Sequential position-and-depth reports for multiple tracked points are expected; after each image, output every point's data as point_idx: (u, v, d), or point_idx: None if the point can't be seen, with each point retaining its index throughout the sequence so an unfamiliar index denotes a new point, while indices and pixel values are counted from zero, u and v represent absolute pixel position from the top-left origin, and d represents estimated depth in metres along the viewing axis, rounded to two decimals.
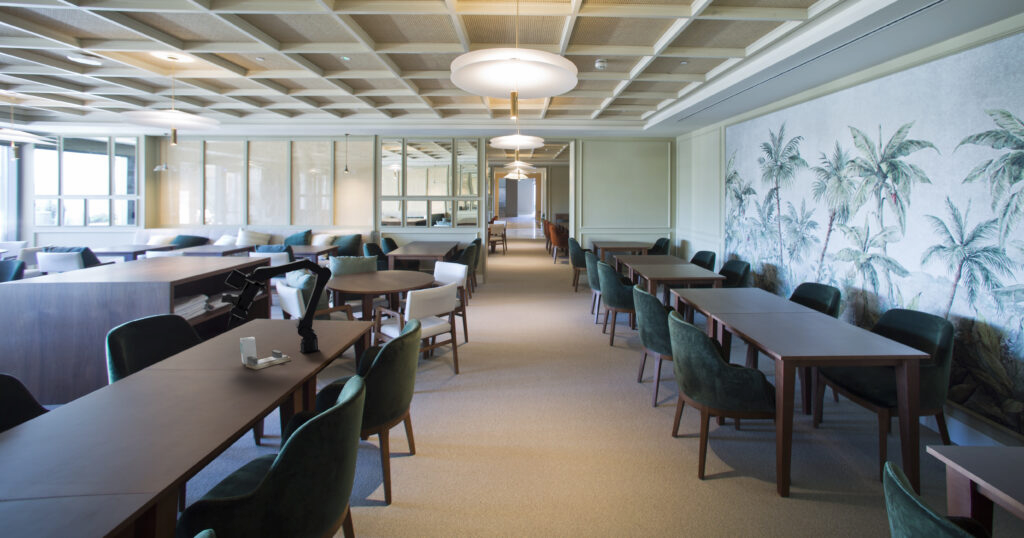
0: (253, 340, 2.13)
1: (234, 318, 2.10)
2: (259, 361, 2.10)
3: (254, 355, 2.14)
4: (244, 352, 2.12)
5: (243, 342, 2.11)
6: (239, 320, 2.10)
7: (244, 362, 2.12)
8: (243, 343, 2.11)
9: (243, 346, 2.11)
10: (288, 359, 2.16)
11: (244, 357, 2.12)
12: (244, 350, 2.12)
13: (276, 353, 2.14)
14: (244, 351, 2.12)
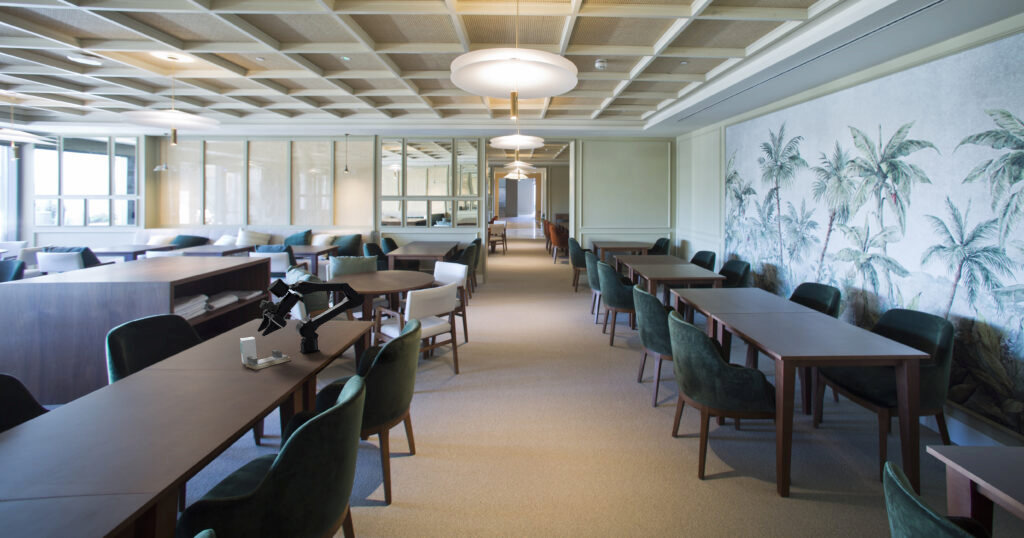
0: (253, 340, 2.13)
1: (272, 325, 2.14)
2: (259, 361, 2.10)
3: (254, 355, 2.14)
4: (244, 352, 2.12)
5: (243, 342, 2.11)
6: (276, 328, 2.14)
7: (244, 362, 2.12)
8: (243, 343, 2.11)
9: (243, 346, 2.11)
10: (288, 359, 2.16)
11: (244, 357, 2.12)
12: (244, 350, 2.12)
13: (276, 353, 2.14)
14: (244, 351, 2.12)
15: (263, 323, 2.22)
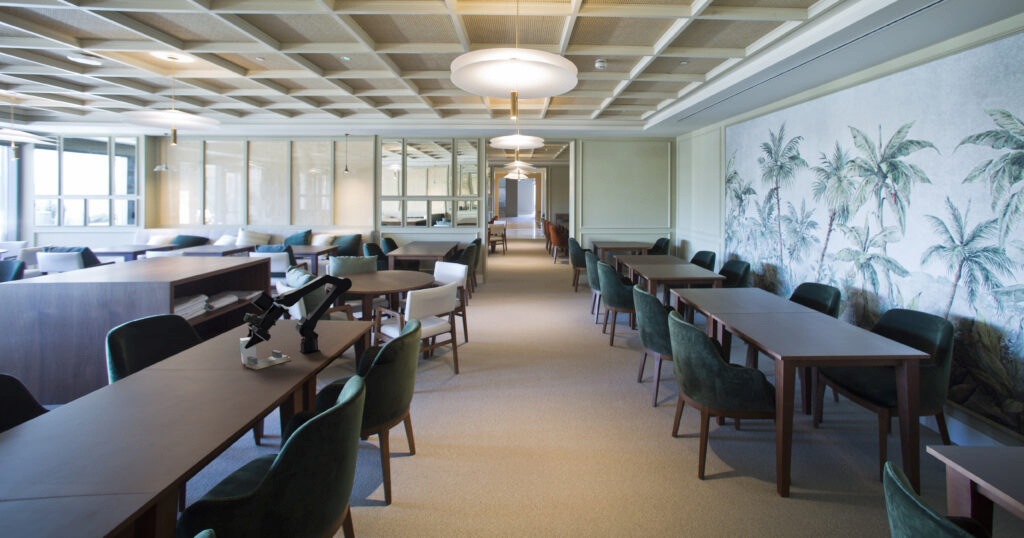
0: None
1: (255, 338, 2.13)
2: (259, 361, 2.10)
3: (254, 355, 2.14)
4: (244, 352, 2.12)
5: (243, 342, 2.11)
6: (259, 340, 2.13)
7: (244, 362, 2.12)
8: (243, 343, 2.11)
9: (243, 346, 2.11)
10: (288, 359, 2.16)
11: (244, 357, 2.12)
12: (244, 350, 2.12)
13: (276, 353, 2.14)
14: (244, 351, 2.12)
15: None
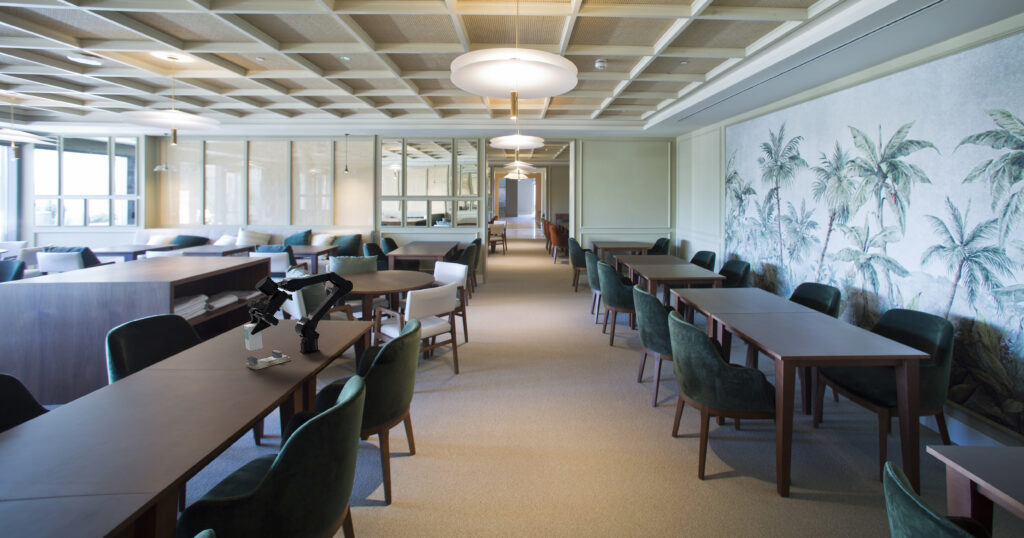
0: None
1: (261, 324, 2.10)
2: (259, 361, 2.10)
3: (260, 341, 2.12)
4: (250, 338, 2.09)
5: (249, 328, 2.09)
6: (265, 326, 2.11)
7: (250, 348, 2.10)
8: (249, 329, 2.09)
9: (249, 332, 2.09)
10: (288, 359, 2.16)
11: (250, 343, 2.09)
12: (250, 336, 2.09)
13: (276, 353, 2.14)
14: (250, 337, 2.09)
15: None
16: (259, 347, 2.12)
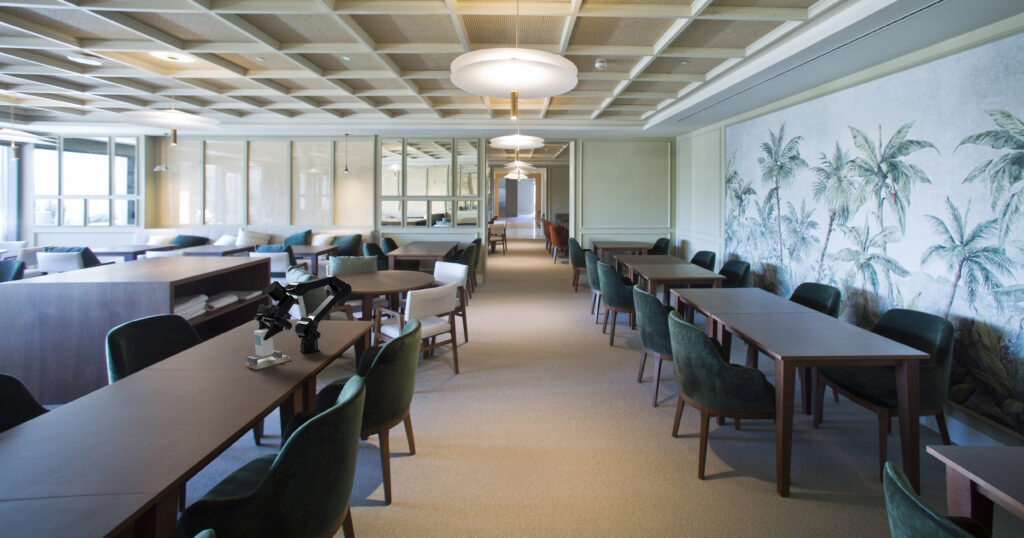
0: None
1: (273, 329, 2.10)
2: (259, 361, 2.10)
3: (271, 346, 2.11)
4: (263, 344, 2.08)
5: (262, 334, 2.07)
6: (277, 331, 2.11)
7: (263, 354, 2.08)
8: (262, 335, 2.07)
9: (262, 338, 2.07)
10: (288, 359, 2.16)
11: (263, 349, 2.08)
12: (263, 342, 2.08)
13: (276, 353, 2.14)
14: (263, 343, 2.08)
15: None
16: (271, 352, 2.11)
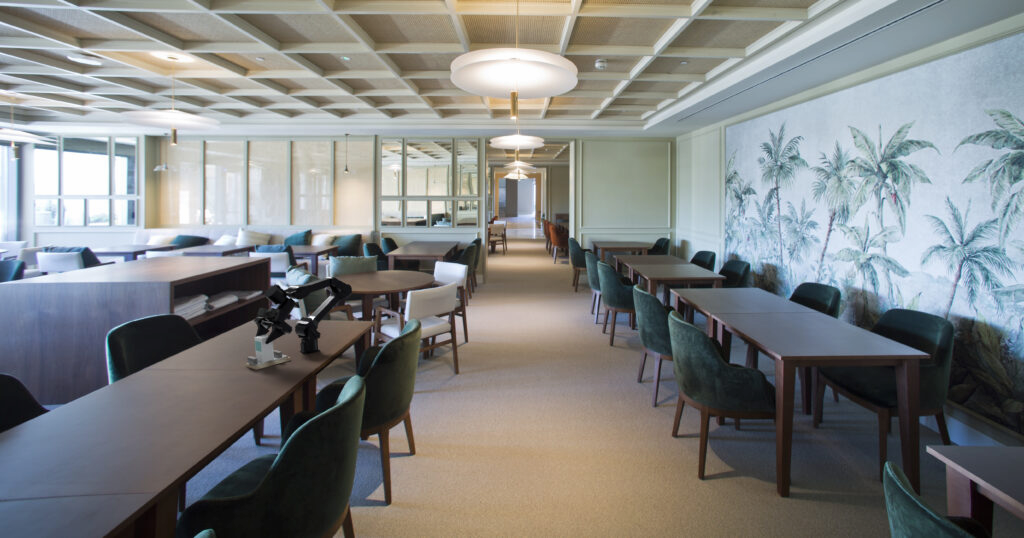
0: None
1: (275, 332, 2.10)
2: None
3: (272, 352, 2.12)
4: (263, 350, 2.08)
5: (262, 340, 2.08)
6: (279, 334, 2.11)
7: (263, 360, 2.09)
8: (262, 341, 2.08)
9: (262, 344, 2.08)
10: (288, 359, 2.16)
11: (263, 355, 2.08)
12: (263, 348, 2.08)
13: (276, 353, 2.14)
14: (263, 349, 2.08)
15: (259, 332, 2.13)
16: (271, 358, 2.11)
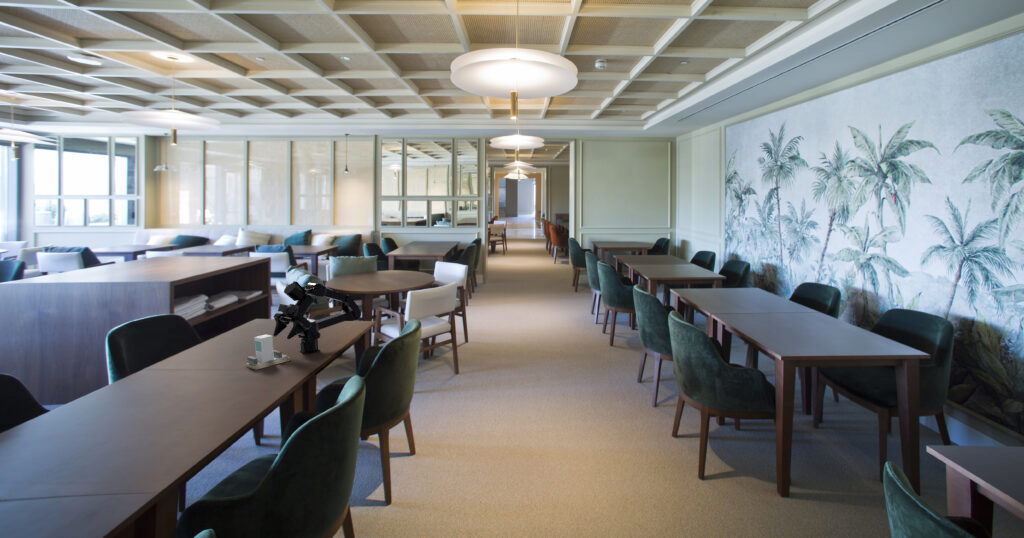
0: (271, 337, 2.11)
1: (296, 328, 2.17)
2: None
3: (272, 352, 2.12)
4: (263, 350, 2.08)
5: (262, 340, 2.08)
6: (300, 330, 2.18)
7: (263, 360, 2.09)
8: (262, 341, 2.08)
9: (262, 344, 2.08)
10: (288, 359, 2.16)
11: (263, 355, 2.08)
12: (263, 348, 2.08)
13: (276, 353, 2.14)
14: (263, 349, 2.08)
15: (278, 327, 2.21)
16: (271, 358, 2.11)
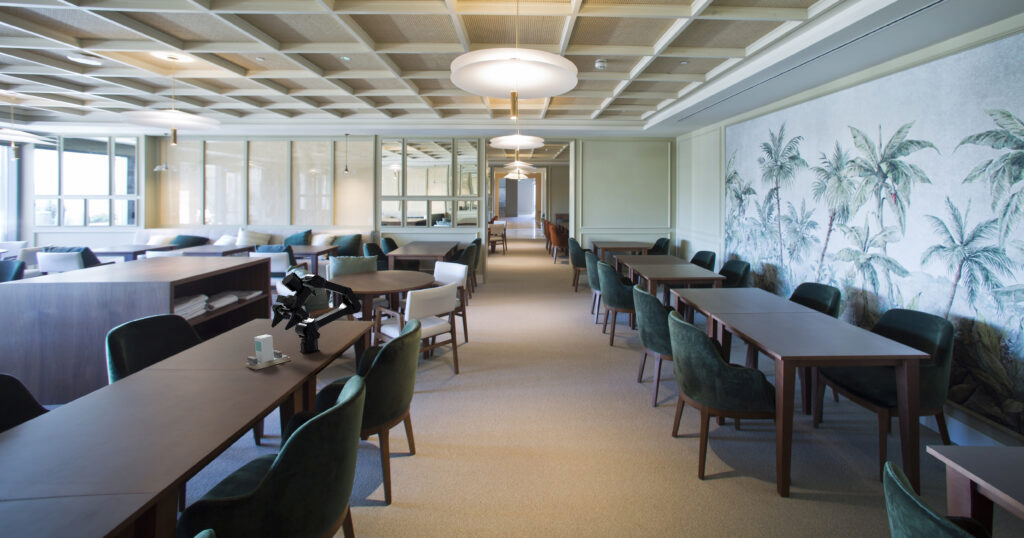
0: (271, 337, 2.11)
1: (294, 319, 2.16)
2: None
3: (272, 352, 2.12)
4: (263, 350, 2.08)
5: (262, 340, 2.08)
6: (298, 321, 2.17)
7: (263, 360, 2.09)
8: (262, 341, 2.08)
9: (262, 344, 2.08)
10: (288, 359, 2.16)
11: (263, 355, 2.08)
12: (263, 348, 2.08)
13: (276, 353, 2.14)
14: (263, 349, 2.08)
15: (276, 318, 2.20)
16: (271, 358, 2.11)
